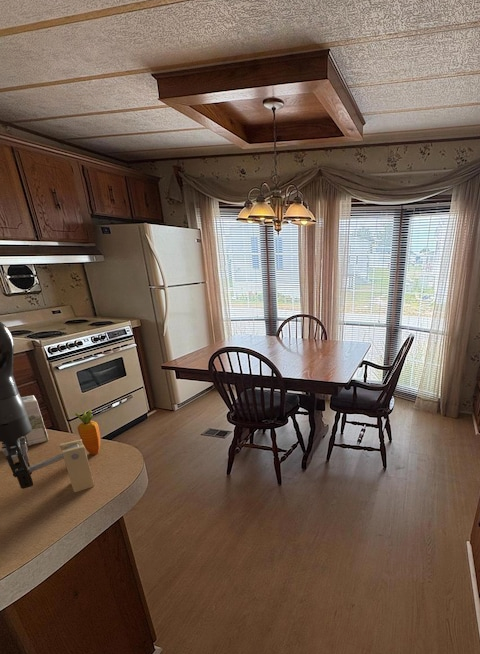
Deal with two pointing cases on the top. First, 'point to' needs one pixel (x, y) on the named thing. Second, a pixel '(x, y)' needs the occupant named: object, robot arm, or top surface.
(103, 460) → the top surface
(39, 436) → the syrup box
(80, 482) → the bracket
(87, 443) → the carrot
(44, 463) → the lever
